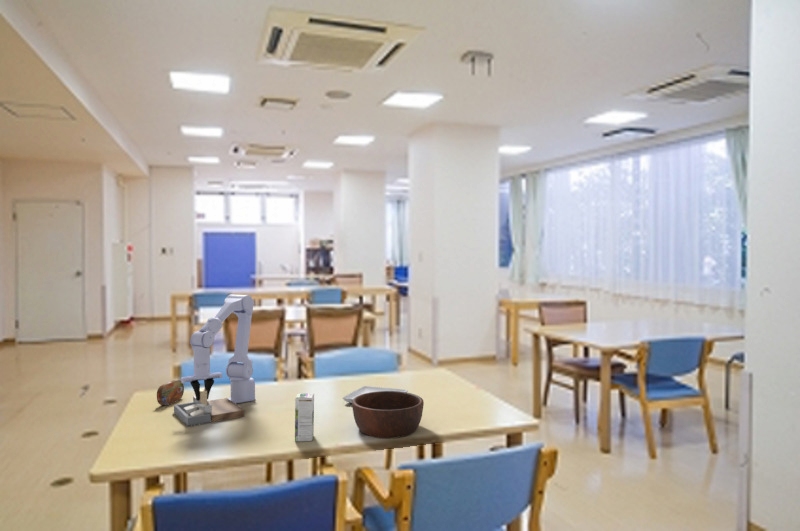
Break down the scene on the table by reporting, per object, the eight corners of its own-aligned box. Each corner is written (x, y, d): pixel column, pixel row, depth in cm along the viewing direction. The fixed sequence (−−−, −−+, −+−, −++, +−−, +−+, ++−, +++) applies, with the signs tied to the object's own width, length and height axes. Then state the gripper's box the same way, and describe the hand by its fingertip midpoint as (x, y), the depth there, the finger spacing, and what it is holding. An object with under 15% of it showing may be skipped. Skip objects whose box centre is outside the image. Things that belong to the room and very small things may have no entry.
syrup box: (296, 435, 179) (296, 393, 179) (314, 435, 180) (314, 392, 180) (294, 441, 174) (294, 397, 173) (313, 441, 174) (312, 397, 174)
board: (226, 404, 217) (226, 397, 217) (244, 416, 201) (244, 409, 200) (196, 409, 210) (196, 402, 210) (211, 422, 193) (211, 415, 193)
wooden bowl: (429, 420, 196) (429, 392, 196) (415, 444, 172) (415, 412, 172) (364, 415, 202) (364, 388, 202) (342, 438, 177) (342, 407, 177)
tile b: (202, 413, 199) (200, 408, 198) (205, 416, 196) (203, 411, 195) (191, 418, 197) (189, 413, 196) (194, 421, 193) (192, 416, 193)
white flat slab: (199, 402, 208) (199, 385, 208) (212, 412, 195) (211, 394, 195) (193, 403, 207) (192, 386, 207) (205, 414, 194) (204, 395, 194)
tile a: (195, 409, 206) (194, 404, 206) (198, 411, 203) (197, 406, 202) (184, 412, 204) (183, 407, 203) (187, 415, 200) (186, 410, 200)
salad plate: (341, 405, 216) (341, 396, 216) (364, 392, 236) (364, 384, 236) (389, 411, 208) (389, 402, 208) (408, 397, 228) (408, 389, 228)
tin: (162, 408, 211) (162, 386, 211) (155, 407, 212) (154, 386, 212) (184, 397, 226) (184, 378, 226) (178, 397, 227) (178, 377, 227)
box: (195, 409, 209) (195, 401, 209) (210, 422, 193) (210, 414, 193) (174, 412, 205) (173, 405, 205) (187, 426, 189) (187, 418, 189)
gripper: (184, 367, 193) (184, 405, 194) (224, 362, 202) (224, 398, 202) (179, 364, 199) (179, 400, 199) (218, 359, 207) (219, 394, 208)
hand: (202, 399), depth 201 cm, fingers closed on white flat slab, 2 cm apart
